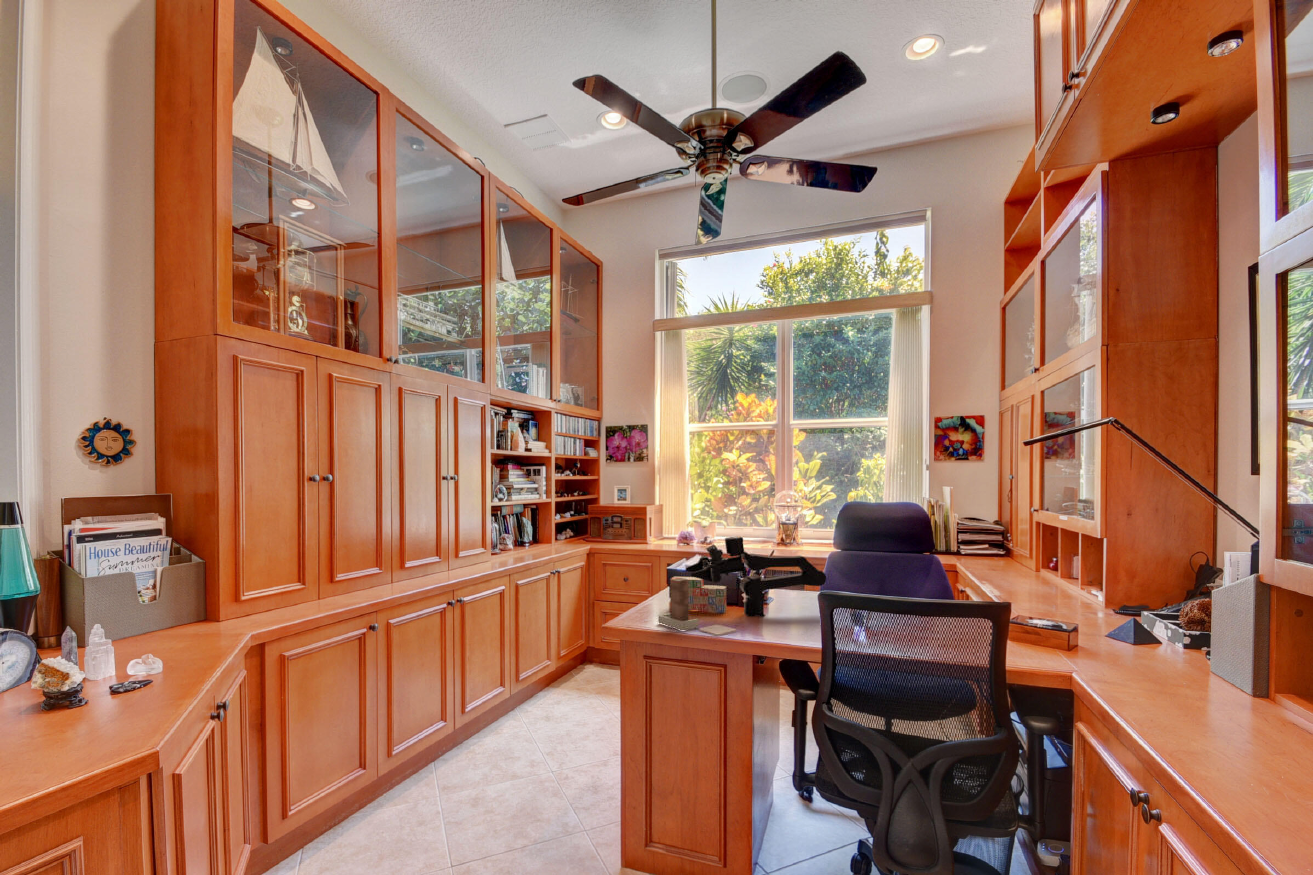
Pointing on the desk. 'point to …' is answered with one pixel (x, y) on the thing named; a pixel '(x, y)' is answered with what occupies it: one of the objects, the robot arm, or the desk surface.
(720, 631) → the grey mat
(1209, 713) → the desk surface
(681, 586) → the walnut block
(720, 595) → the stack of blocks
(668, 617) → the grey u-shaped bracket
